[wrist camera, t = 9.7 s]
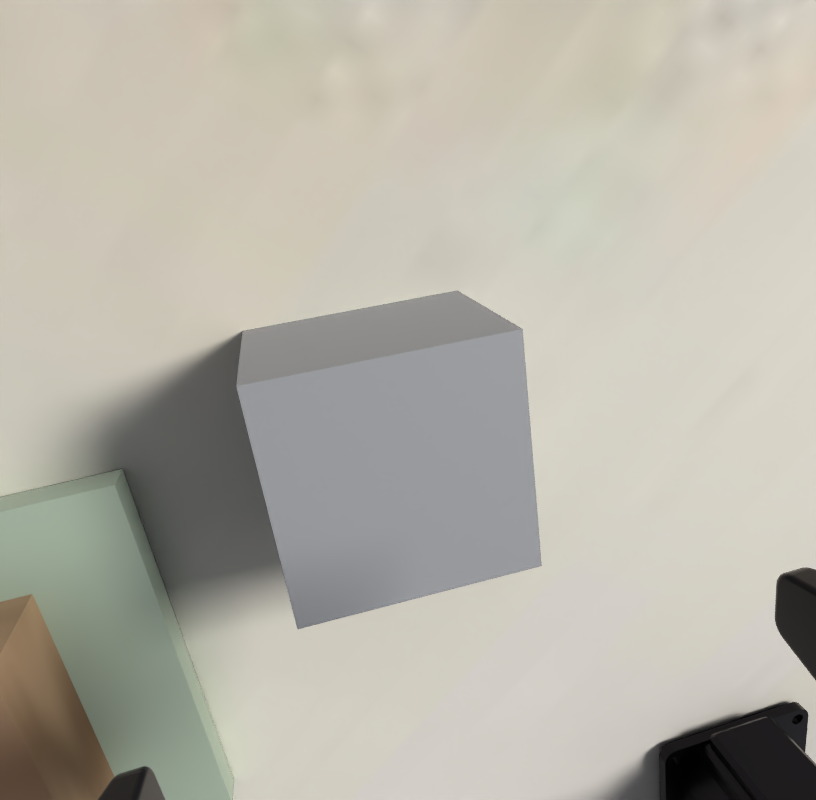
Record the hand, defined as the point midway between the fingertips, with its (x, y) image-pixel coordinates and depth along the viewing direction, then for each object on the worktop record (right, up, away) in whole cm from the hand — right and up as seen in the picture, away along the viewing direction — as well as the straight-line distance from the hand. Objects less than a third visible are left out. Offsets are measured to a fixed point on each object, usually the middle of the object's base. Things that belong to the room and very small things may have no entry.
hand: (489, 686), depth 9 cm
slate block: (-2, +4, +10) cm, 11 cm away
